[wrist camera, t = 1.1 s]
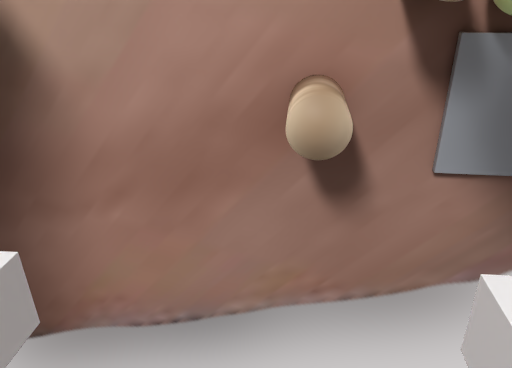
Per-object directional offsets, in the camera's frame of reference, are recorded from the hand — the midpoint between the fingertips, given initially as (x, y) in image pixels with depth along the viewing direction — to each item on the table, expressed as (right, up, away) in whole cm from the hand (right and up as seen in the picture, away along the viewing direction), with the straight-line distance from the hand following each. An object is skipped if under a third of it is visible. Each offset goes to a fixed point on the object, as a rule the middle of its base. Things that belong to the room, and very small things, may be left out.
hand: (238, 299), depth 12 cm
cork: (+5, +10, +22) cm, 25 cm away
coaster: (+21, +9, +20) cm, 31 cm away
